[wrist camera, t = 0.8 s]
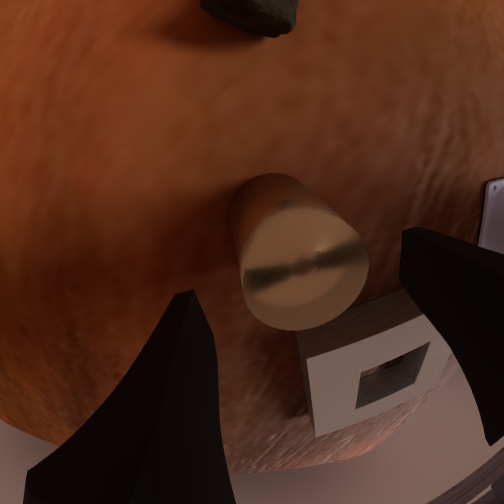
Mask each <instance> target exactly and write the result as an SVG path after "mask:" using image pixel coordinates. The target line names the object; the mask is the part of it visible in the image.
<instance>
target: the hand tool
mask: <svg viewBox="0 0 504 504" xmlns="http://www.w3.org/2000/svg"><path fill="white" fill-rule="evenodd" d="M200 1H201V3H200V6H201V8H202V9H203V10H205V11H207V12H209V13H210V14H211V15H212V16H214V17H215V18H218V19H222V20H224V21H226V22H228V23H230V24H231V25H233V26H235V27H237V28H240V29H242V30H245V31H248V32H251V33H254V34H258V35H261V36H266V37H271V38H277V37H278V36H280V35H281V34H288V33H289V32H291V31H292V30H293V28H294V26H295V24H296V9H297V6H298V3H297V2H298V0H200Z"/></svg>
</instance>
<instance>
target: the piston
mask: <svg viewBox="0 0 504 504" xmlns="http://www.w3.org/2000/svg"><path fill="white" fill-rule="evenodd" d="M229 217H230V225H231V231H232V236H233V242H234V247H235V252H236V258H237V263H238V268H239V274H240V279H241V284H242V289H243V294H244V299H245V301H246V304H247V306H248V308H249V309H250V311H251V312H252V313H253V315H254V316H255V317H256V318H258V319H259V320H260V321H261V322H263V323H265V324H267V325H269V326H271V327H274V328H277V329H282V330H304V329H310V328H313V327H317V326H319V325H322V324H324V323H327V322H329V321H330V320H332V319H334V318H336V317H337V316H338V315H340V314H341V313H343V312H344V311H345V310H346V309H347V308H348V307H349V306H350V305H351V304H352V303H353V302H354V301H355V299H356V298H357V297H358V295H359V294H360V292H361V290H362V288H363V286H364V284H365V281H366V279H367V275H368V270H369V255H368V251H367V248H366V245H365V243H364V241H363V239H362V238H361V236H360V235H359V234H358V233H357V232H356V231H355V230H354V229H353V228H352V227H351V226H350V225H349V224H348V223H346V222H345V221H344V220H343V219H342V218H341V217H340V216H339V215H338V214H337V213H335V212H334V211H333V210H332V209H331V208H330V207H329V206H328V205H326V204H325V203H324V202H323V201H322V200H321V199H319V198H318V197H317V196H316V195H315V194H314V193H312V192H311V191H310V190H309V189H308V188H307V187H305V186H304V185H303V184H302V183H301V182H299V181H298V180H296V179H295V178H293V177H291V176H288V175H285V174H279V173H269V174H264V175H260V176H258V177H255V178H253V179H251V180H250V181H248V182H247V183H246V184H244V185H243V186H242V187H241V188H240V189H239V191H238V192H237V194H236V195H235V197H234V199H233V201H232V204H231V207H230V215H229Z"/></svg>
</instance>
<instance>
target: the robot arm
mask: <svg viewBox="0 0 504 504" xmlns="http://www.w3.org/2000/svg"><path fill="white" fill-rule="evenodd" d="M399 280H400V281H401V283H402V285H403V286H404V288H405V290H406V291H407V293H408V294H409V296H410V297H411V299H412V300H413V301H414V303H415V304H416V305H417V306H418V308H419V309H420V310H421V311H422V313H423V314H424V315H425V316H426V317H427V319H428V320H429V321H430V322H431V324H432V325H433V326H434V327H435V329H436V330H437V331H438V332H439V334H440V335H441V336H442V337H443V339H444V340H445V341H446V343H447V344H448V346H449V347H450V349H451V350H452V352H453V354H454V355H455V357H456V359H457V361H458V363H459V364H460V366H461V368H462V370H463V372H464V374H465V376H466V379H467V381H468V383H469V385H470V387H471V390H472V393H473V395H474V398H475V401H476V403H477V406H478V409H479V413H480V416H481V420H482V424H483V428H484V433H485V438H486V440H487V442H488V444H489V446H492V445H493V444H494V443H496V442H497V441H498V440H499V439H500V438H502V437H503V436H504V178H502V179H498V180H494V181H490V182H488V183H487V185H486V190H485V201H484V209H483V217H482V224H481V230H480V236H479V242H478V246H477V245H474V244H471V243H468V242H465V241H462V240H459V239H456V238H453V237H450V236H447V235H444V234H441V233H438V232H435V231H431V230H427V229H423V228H419V227H413V228H410V229H407V230H404V231H402V246H401V260H400V272H399ZM491 484H492V485H491ZM489 485H491V488H492V489H491V490H490V491H489V492H487V493H486V494H485V495H483V496H482V497H481V498H479V499H478V500H476V501H475V502H473V503H472V504H504V447H503V448H502V449H501V450H500V451H499V452H497V453H496V454H495V455H494V456H493V457H492V458H491V459H489V460H488V461H487V462H486V463H485V464H483V465H482V466H481V467H480V468H478V469H477V470H476V471H474V472H473V473H472V474H470V475H469V476H468V477H466V478H465V479H464V480H462V481H461V482H459V483H458V484H457V485H455V486H454V487H452V488H451V489H449V490H448V491H446V492H445V493H443V494H441V495H440V496H438V497H436V498H435V499H433V500H431V501H430V502H428V503H426V504H466V503H467V502H468V501H470V500H471V499H473V498H474V497H476V496H477V495H478V494H479V493H481V492H482V491H483V490H484V489H486V488H487V487H488V486H489ZM23 504H236V502H235V498H234V494H233V490H232V486H231V483H230V479H229V473H228V469H227V464H226V459H225V454H224V448H223V443H222V437H221V430H220V418H219V392H218V362H217V355H216V348H215V342H214V335H213V333H212V331H211V328H210V326H209V324H208V322H207V320H206V317H205V315H204V313H203V311H202V308H201V306H200V304H199V301H198V299H197V297H196V294H195V292H194V290H190V291H186V292H182V293H178V294H175V296H174V297H173V299H172V300H171V302H170V304H169V305H168V307H167V309H166V311H165V312H164V314H163V316H162V318H161V319H160V321H159V323H158V324H157V326H156V328H155V329H154V331H153V333H152V334H151V336H150V338H149V340H148V341H147V343H146V344H145V346H144V347H143V349H142V350H141V352H140V354H139V355H138V357H137V358H136V360H135V361H134V363H133V364H132V366H131V367H130V369H129V370H128V372H127V373H126V375H125V376H124V377H123V379H122V380H121V381H120V383H119V384H118V385H117V387H116V388H115V389H114V390H113V392H112V393H111V394H110V395H109V397H108V398H107V399H106V400H105V401H104V403H103V404H102V405H101V406H100V407H99V408H98V409H97V410H96V411H95V413H94V414H93V415H92V416H91V417H90V418H89V419H88V420H87V421H86V423H85V424H84V425H83V426H82V427H81V428H80V429H78V430H77V431H76V432H75V433H74V434H73V435H72V436H71V437H70V438H69V439H68V440H67V441H66V442H65V443H63V444H62V445H61V446H60V447H59V448H58V449H56V450H55V451H54V452H53V453H51V454H50V455H49V456H47V457H46V458H45V459H43V460H42V461H41V462H39V463H38V464H37V465H35V466H34V467H33V468H31V469H30V470H28V472H27V476H26V483H25V491H24V499H23Z"/></svg>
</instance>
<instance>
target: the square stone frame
mask: <svg viewBox="0 0 504 504" xmlns="http://www.w3.org/2000/svg"><path fill="white" fill-rule="evenodd" d="M295 334H296V340H297V346H298V352H299V358H300V364H301V370H302V376H303V382H304V388H305V395H306V401H307V408H308V414H309V417H310V420H311V424H312V427H313V430H314V433H315V436H316V437H318V436H321V435H324V434H327V433H330V432H333V431H336V430H339V429H342V428H345V427H347V426H350V425H353V424H355V423H358V422H361V421H363V420H366V419H368V418H370V417H373V416H375V415H378V414H380V413H382V412H384V411H387V410H389V409H391V408H393V407H395V406H397V405H399V404H402V403H404V402H406V401H408V400H410V399H411V398H413V397H415V396H417V395H419V394H421V393H423V392H425V391H427V390H428V389H430V388H432V387H434V386H435V384H436V382H437V380H438V378H439V376H440V374H441V372H442V370H443V368H444V366H445V364H446V362H447V360H448V357H449V355H450V353H451V351H452V350H451V349H450V347H449V346H448V344H447V343H446V341H445V340H444V339H443V337H442V336H441V335H440V334H439V332H438V331H437V330H436V329H435V327H434V326H433V325H432V324H431V322H430V321H429V320H428V319H427V317H426V316H425V315H424V314H423V313H422V311H421V310H420V309H419V308H418V306H417V305H416V304H415V303H414V301H413V300H412V299H411V297H410V296H409V294H408V293H407V291H406V290H405V288H403V289H401V290H398V291H396V292H393V293H391V294H388V295H385V296H383V297H380V298H377V299H375V300H372V301H369V302H366V303H363V304H361V305H358V306H355V307H352V308H349V309H346V310H345V311H344V312H343V313H341V314H340V315H338V316H337V317H336V318H334V319H332V320H330V321H329V322H327V323H324V324H322V325H319V326H317V327H313V328H310V329H304V330H295ZM401 355H403V358H402V361H401V362H399V363H397V364H395V365H393V366H390V367H388V368H386V369H383V370H381V371H379V372H376V373H374V374H372V375H369V376H367V377H364V378H362V379H360V374H361V372H363V371H366V370H368V369H371V368H373V367H376V366H378V365H380V364H383V363H385V362H387V361H390V360H392V359H394V358H396V357H399V356H401Z"/></svg>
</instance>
